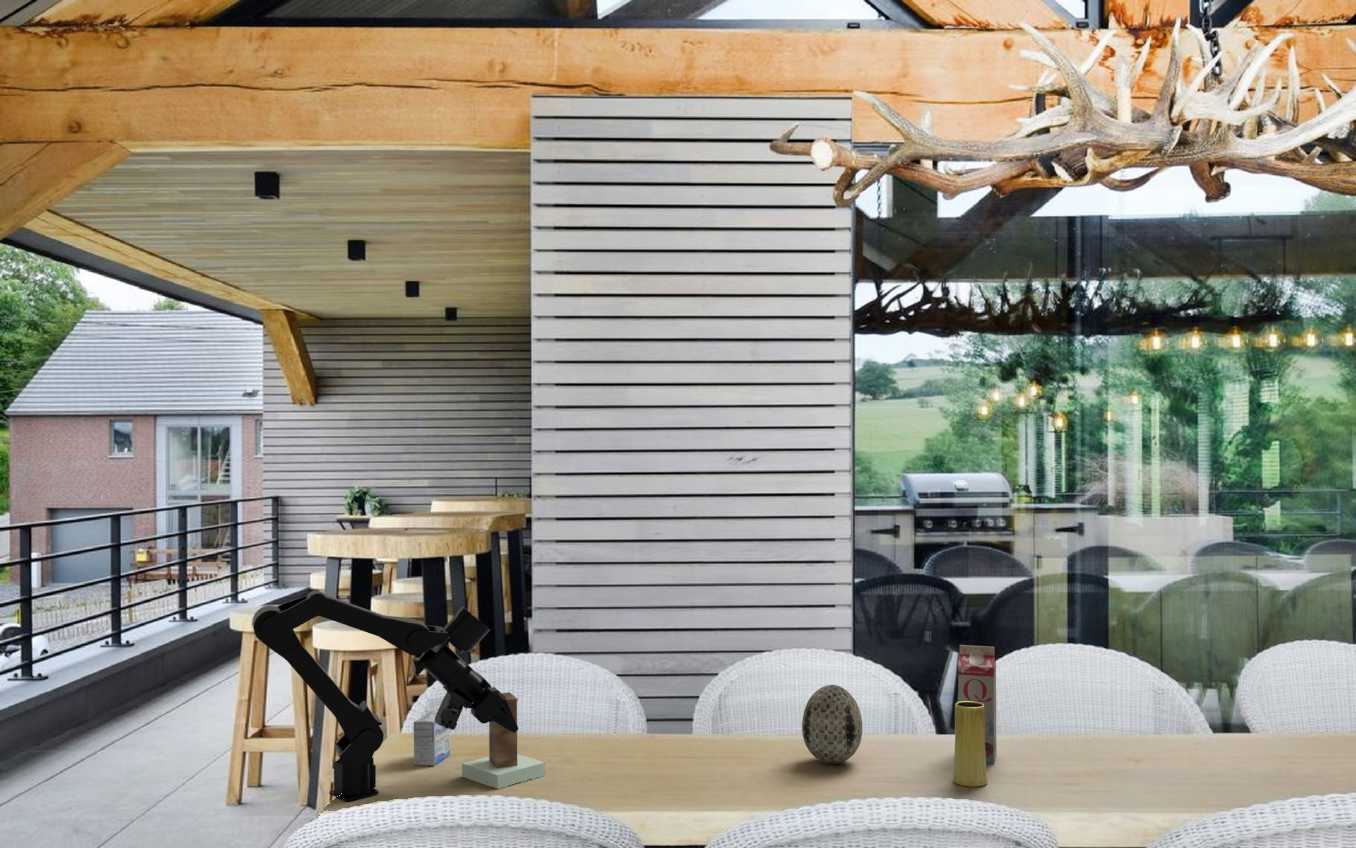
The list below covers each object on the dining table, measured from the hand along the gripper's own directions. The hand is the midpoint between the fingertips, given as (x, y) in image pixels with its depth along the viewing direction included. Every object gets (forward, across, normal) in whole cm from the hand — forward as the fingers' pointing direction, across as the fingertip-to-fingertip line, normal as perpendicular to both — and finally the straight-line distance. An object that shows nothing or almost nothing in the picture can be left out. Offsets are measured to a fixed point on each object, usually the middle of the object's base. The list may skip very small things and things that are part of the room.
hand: (510, 725), depth 221 cm
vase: (+61, +38, +47) cm, 86 cm away
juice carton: (+69, +25, +55) cm, 91 cm away
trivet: (+6, 0, -8) cm, 10 cm away
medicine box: (-2, -16, -15) cm, 22 cm away
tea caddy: (+4, 0, -6) cm, 7 cm away
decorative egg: (+49, +17, +35) cm, 63 cm away
